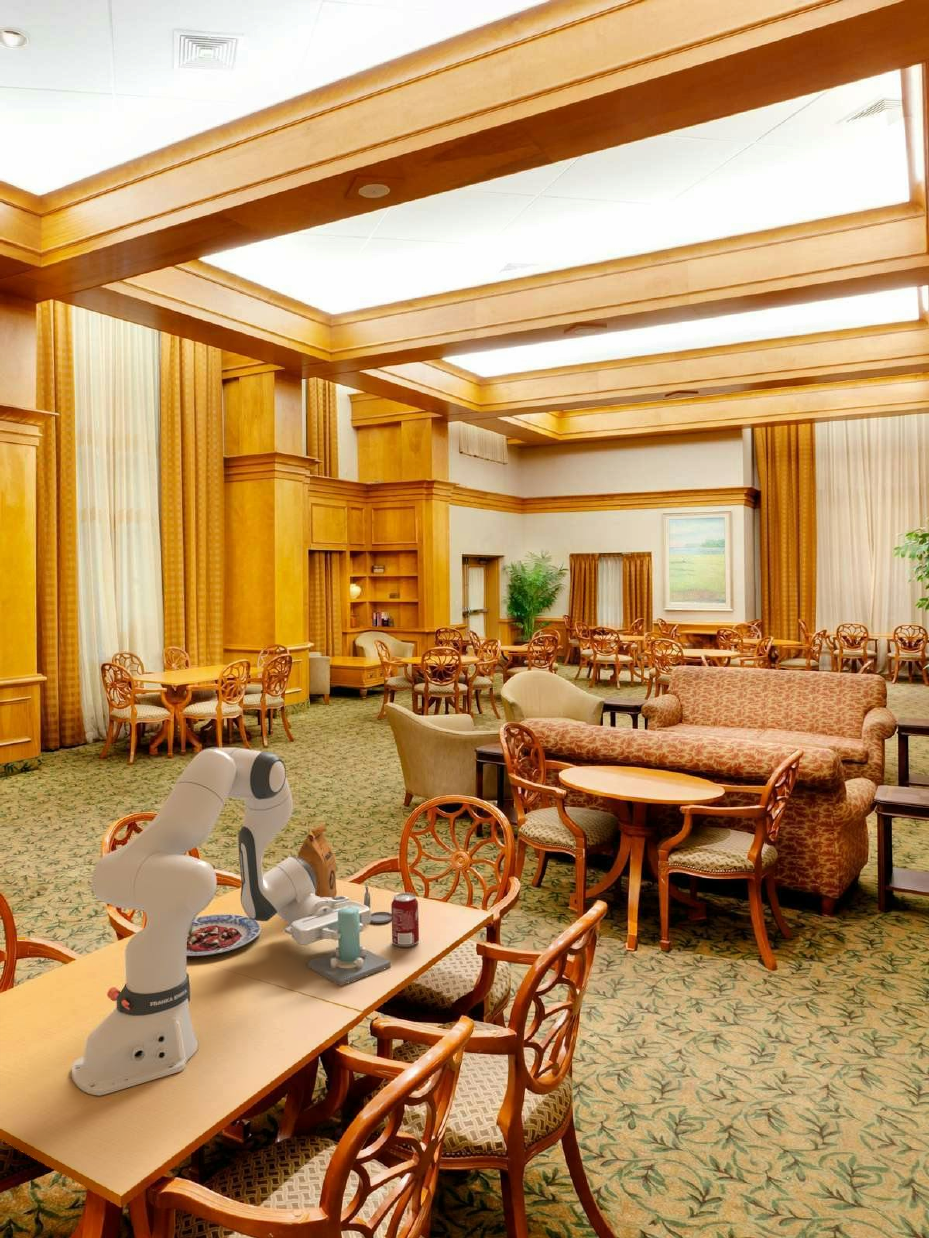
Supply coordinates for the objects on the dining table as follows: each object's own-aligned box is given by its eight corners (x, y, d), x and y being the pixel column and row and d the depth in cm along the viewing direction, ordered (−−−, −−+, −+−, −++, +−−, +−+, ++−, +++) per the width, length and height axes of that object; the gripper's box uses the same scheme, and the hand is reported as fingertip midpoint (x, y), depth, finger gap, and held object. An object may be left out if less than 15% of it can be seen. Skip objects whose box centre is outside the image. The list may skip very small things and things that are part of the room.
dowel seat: (341, 986, 189) (340, 972, 189) (307, 966, 199) (307, 953, 199) (390, 966, 199) (390, 953, 198) (356, 949, 209) (355, 936, 209)
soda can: (415, 949, 208) (414, 901, 208) (388, 947, 209) (387, 900, 209) (421, 938, 215) (420, 892, 214) (396, 936, 216) (395, 890, 216)
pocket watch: (397, 920, 227) (396, 884, 227) (369, 928, 222) (368, 890, 222) (382, 911, 234) (381, 876, 233) (355, 918, 229) (354, 882, 229)
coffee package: (342, 898, 245) (340, 823, 244) (324, 914, 233) (322, 835, 232) (311, 895, 247) (309, 821, 247) (291, 911, 235) (289, 833, 235)
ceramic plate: (282, 932, 221) (281, 921, 221) (206, 971, 198) (206, 959, 198) (212, 915, 234) (212, 905, 234) (134, 950, 211) (134, 938, 211)
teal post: (346, 963, 195) (345, 916, 195) (334, 957, 199) (333, 910, 199) (364, 957, 198) (363, 910, 198) (351, 951, 202) (350, 905, 202)
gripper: (280, 915, 201) (312, 931, 191) (351, 893, 215) (383, 907, 205) (281, 941, 201) (312, 959, 191) (351, 918, 215) (384, 933, 205)
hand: (350, 932), depth 198 cm, fingers closed on teal post, 5 cm apart
